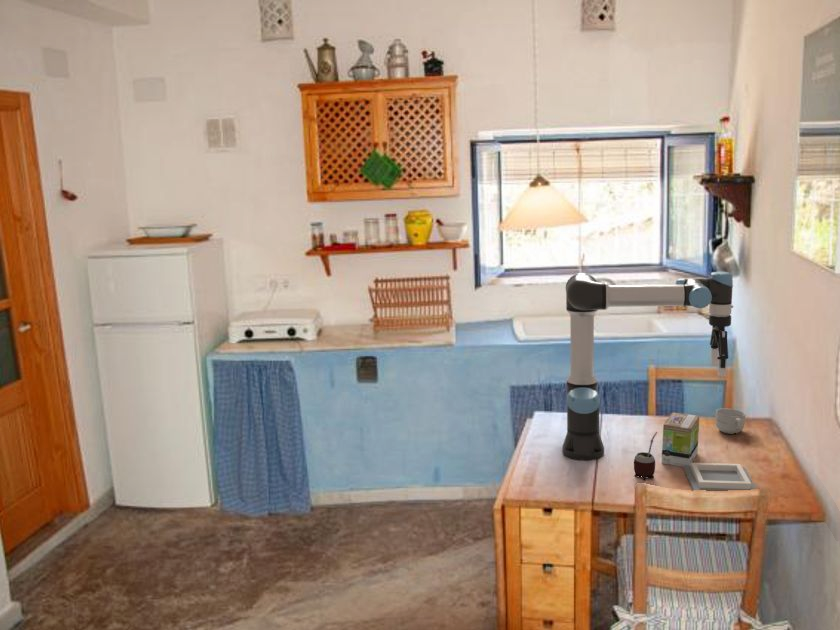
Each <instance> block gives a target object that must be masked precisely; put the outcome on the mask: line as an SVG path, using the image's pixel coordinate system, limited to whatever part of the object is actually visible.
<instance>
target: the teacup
mask: <svg viewBox="0 0 840 630" xmlns="http://www.w3.org/2000/svg"><path fill="white" fill-rule="evenodd" d="M746 415H747V414H746V412H744V411H743V410H739V409H734V408H727V407H723V408H722V407H721V408H718V409H715V426H716V428H717V429H719V431H720V432H722V433H724V434H730V435H732V434H733V435H735V434H734V433H736V434H739V433H740V432H742V431H743V430H744V428H745V423H746V422H745V421H746V417H747V416H746Z"/></svg>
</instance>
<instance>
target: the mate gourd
mask: <svg viewBox="0 0 840 630" xmlns="http://www.w3.org/2000/svg"><path fill="white" fill-rule="evenodd" d="M657 434H658V431H656V432H655V433H654V435H653V436H652V438H651V439H650V445H649V448H648V452H644V451H643V452H642V451H641V452H638V453H637V454H636V455H635V456H634V459H633V471H634V473H635V474H634V477H635V476H639V477H638V478H642V477H643V478H642V481H643V480H644V481H646V478H645V477H648V478H647V479H654V478H655V476H654V474H655V470H656V458H655V457H654V455H653V454H652V453H651V450H652V446H653V442H654V439H655V437H656V436H657ZM641 476H642V477H641ZM644 481H643V482H644Z"/></svg>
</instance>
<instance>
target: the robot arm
mask: <svg viewBox="0 0 840 630" xmlns="http://www.w3.org/2000/svg"><path fill="white" fill-rule="evenodd" d="M733 287H734V283H733V274H732V273H731V272H728V271H712V272H711V273H710V276H709V277H706V278H701V277H698V278H696V277H695V278H693V277H692V278H689V277H688V278H687V277H684V278H677V280H676V281H675V284H631V285H630V284H629V285H628V284H627V285H625V284H622V285H619V284H616V285H615V284H614V285H613V284H611V285H610V284H608V282H598V281H597V280H596V278H595V277H594V276H593V275H591V274H589V273H586V272H579V273H575V274H573V275H572V276H570V277H569V278H568V280H567V282H566V284H565V293H566V294H565V297H566V298H565V299H566V302H565V304H566V306H565V308H566V312H567V313H569V316H570V375H569V376H568V377H567V378H566V391H565V399H566V423H567V424H566V435H565V437H564V441H563V444H562V451H561V452H562V454H563V456H565V457H567V458H568V459H569V458H570V459H572V460H577V461H593V459H594V460H597V458H598V459H600V458H602V457H603V456H604V455H605V446H604V443H603V441H602V440H603V439H602V437H601V435H600V405H601V398H600V394H599V392H598V391H599V389H598V388H599V387H598V385H599V384H598V378H597V377H596V376H595V374H594V367H595V366H594V364H595V362H594V361H595V360H594V353H595V352H594V349H595V348H594V347H595V346H594V345H595V343H594V342H595V340H594V339H595V337H594V336H595V335H594V334H595V329H594V328H595V325H594V324H595V316H594V315H595V314H596V313H597V312H598V311H602V310H603V311H604V310H605V311H607V310H608V309H609V308H611V307H612V308H615V307H616V308H617V307H618V308H619V307H620V308H623V307H625V308H626V307H694V308H696V309H704V308H706V307H708V306H709V309H708V311H709V312H708V313H709V315H708V324H709V325H710V326H712V328H711V334H710V335H711V336H710V341H709V345H710V367H717V377H727V361H728V359H729V350H728V349H729V348H728V331H726V327H730V326H731V325H732V309H733V308H734V305H733V304H732V303H733V301H732V300H733Z"/></svg>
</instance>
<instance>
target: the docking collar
mask: <svg viewBox="0 0 840 630" xmlns="http://www.w3.org/2000/svg"><path fill="white" fill-rule="evenodd" d="M683 469H684V472H685V475H686V477H687V479H688V482H689V485H690V487H691V490H692V491H693V490H706V491H728V490H751V489H758V488H757V486H756V484H755V483H754V481H753V479H752V477H751V476H750V474H749V472H748V471H747V469H746V467H745V466H742V465H741V464H740V463H726V462H725V463H724V462H723V463H722V462H721V463H720V462H719V463H717V462H713V463H712V462H692V463H691V465H690V466H684V467H683Z"/></svg>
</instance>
